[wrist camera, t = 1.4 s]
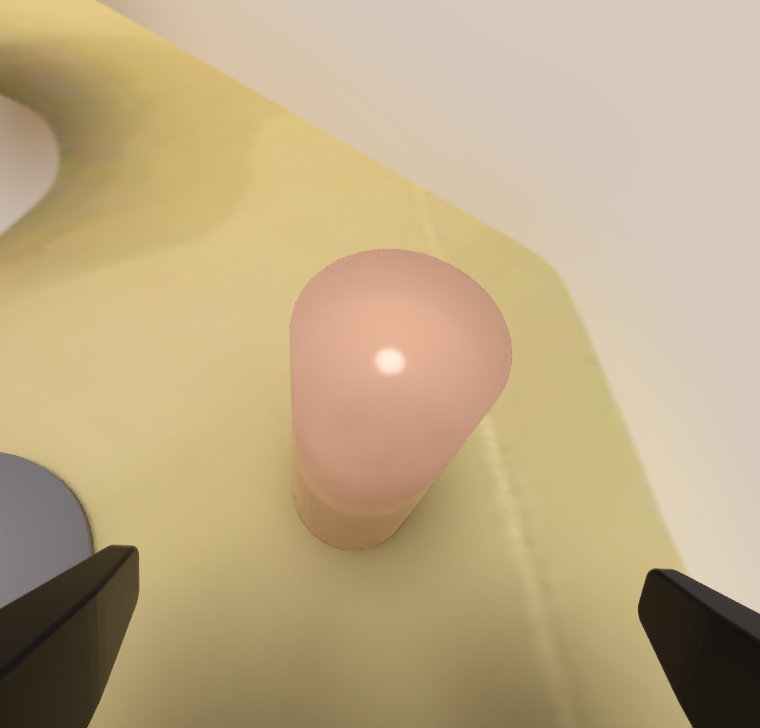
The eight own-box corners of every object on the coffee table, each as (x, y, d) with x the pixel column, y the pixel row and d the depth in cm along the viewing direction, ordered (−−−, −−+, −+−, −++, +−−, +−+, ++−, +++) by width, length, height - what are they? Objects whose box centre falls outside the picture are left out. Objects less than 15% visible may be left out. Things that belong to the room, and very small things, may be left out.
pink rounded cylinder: (430, 521, 21) (554, 393, 11) (318, 570, 20) (340, 475, 9) (382, 419, 23) (448, 231, 13) (278, 456, 22) (259, 275, 11)
